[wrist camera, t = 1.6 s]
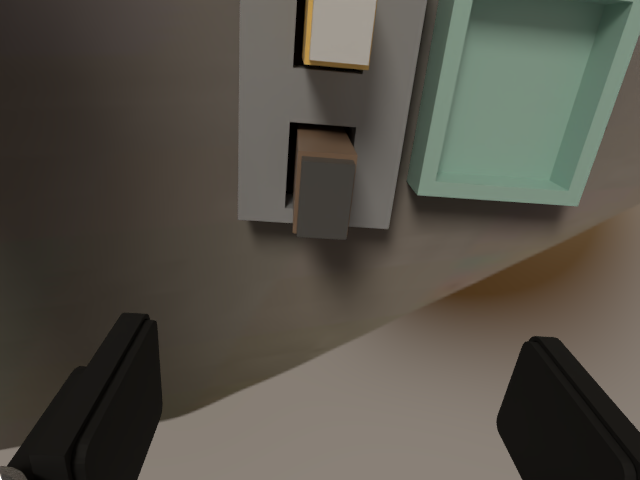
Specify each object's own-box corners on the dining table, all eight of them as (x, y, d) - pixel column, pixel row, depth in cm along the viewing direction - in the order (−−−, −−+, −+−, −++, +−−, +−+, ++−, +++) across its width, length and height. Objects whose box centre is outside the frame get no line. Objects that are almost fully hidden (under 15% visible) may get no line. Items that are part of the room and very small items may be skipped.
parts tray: (444, -32, 26) (462, -40, 23) (620, -12, 26) (657, -18, 24) (406, 181, 31) (417, 195, 28) (553, 191, 32) (577, 206, 29)
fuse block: (246, -65, 24) (240, -78, 22) (421, -45, 25) (436, -55, 23) (242, 203, 31) (237, 219, 28) (380, 212, 32) (388, 228, 29)
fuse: (307, -27, 25) (312, -57, 17) (357, -22, 26) (387, -48, 17) (301, 56, 27) (304, 65, 19) (349, 61, 28) (372, 71, 19)
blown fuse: (297, 121, 29) (298, 155, 21) (342, 125, 29) (360, 160, 21) (293, 186, 31) (292, 241, 23) (335, 189, 31) (349, 244, 23)
